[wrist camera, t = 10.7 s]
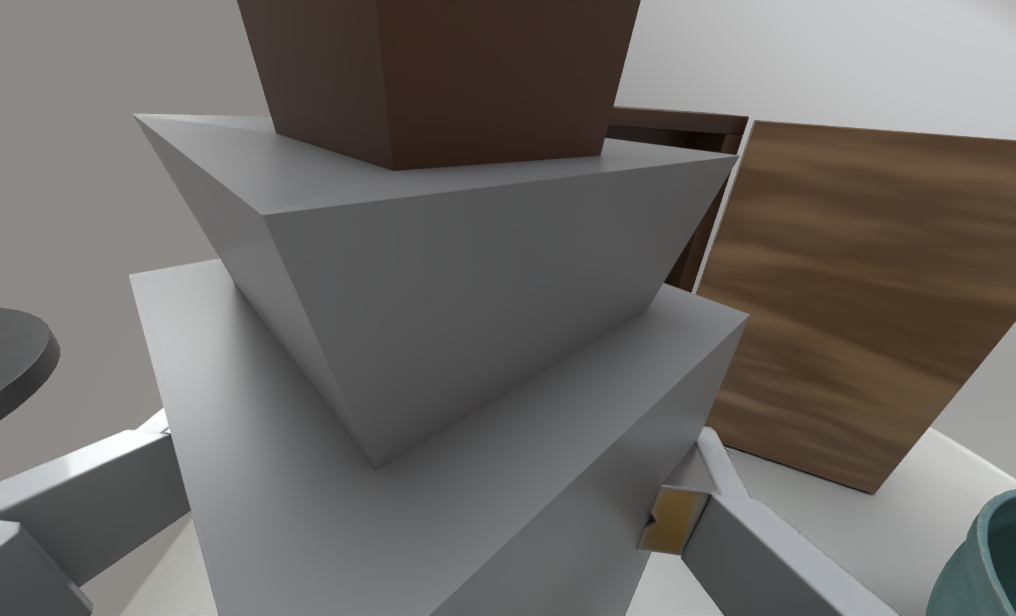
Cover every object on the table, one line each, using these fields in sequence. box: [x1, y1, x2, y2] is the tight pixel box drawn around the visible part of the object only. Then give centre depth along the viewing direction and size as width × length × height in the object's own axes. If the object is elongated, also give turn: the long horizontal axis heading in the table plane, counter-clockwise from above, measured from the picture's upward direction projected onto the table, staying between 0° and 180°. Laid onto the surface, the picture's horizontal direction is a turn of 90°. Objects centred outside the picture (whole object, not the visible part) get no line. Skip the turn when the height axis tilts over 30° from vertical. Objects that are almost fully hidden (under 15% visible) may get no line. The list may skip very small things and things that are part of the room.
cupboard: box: [605, 106, 749, 293], centre depth 31 cm, size 7×15×23 cm, turn 86°
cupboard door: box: [696, 120, 1016, 494], centre depth 27 cm, size 6×15×23 cm, turn 66°
